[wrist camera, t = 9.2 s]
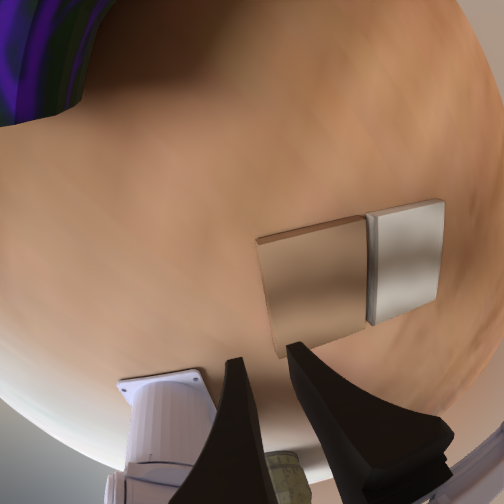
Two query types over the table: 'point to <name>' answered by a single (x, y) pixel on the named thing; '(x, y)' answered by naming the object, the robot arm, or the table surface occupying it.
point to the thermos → (288, 478)
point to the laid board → (403, 258)
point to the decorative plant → (45, 55)
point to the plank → (315, 282)
